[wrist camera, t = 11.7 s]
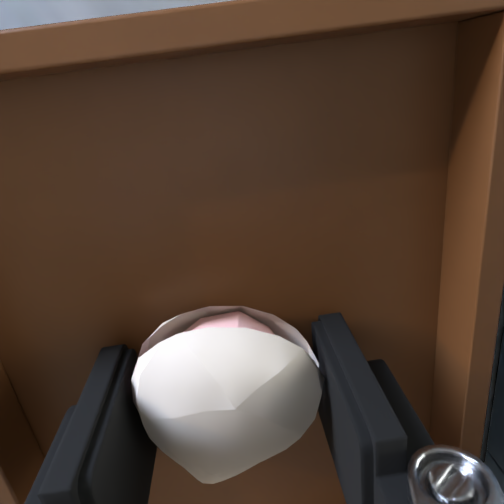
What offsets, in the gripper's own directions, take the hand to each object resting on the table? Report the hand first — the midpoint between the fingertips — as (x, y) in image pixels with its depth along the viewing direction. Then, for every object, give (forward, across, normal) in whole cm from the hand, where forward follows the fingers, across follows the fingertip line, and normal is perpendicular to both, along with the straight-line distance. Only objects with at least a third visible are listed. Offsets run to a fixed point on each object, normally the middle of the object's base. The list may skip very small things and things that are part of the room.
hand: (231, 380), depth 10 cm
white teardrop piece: (+1, 0, 0) cm, 1 cm away
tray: (+1, 0, 0) cm, 1 cm away
